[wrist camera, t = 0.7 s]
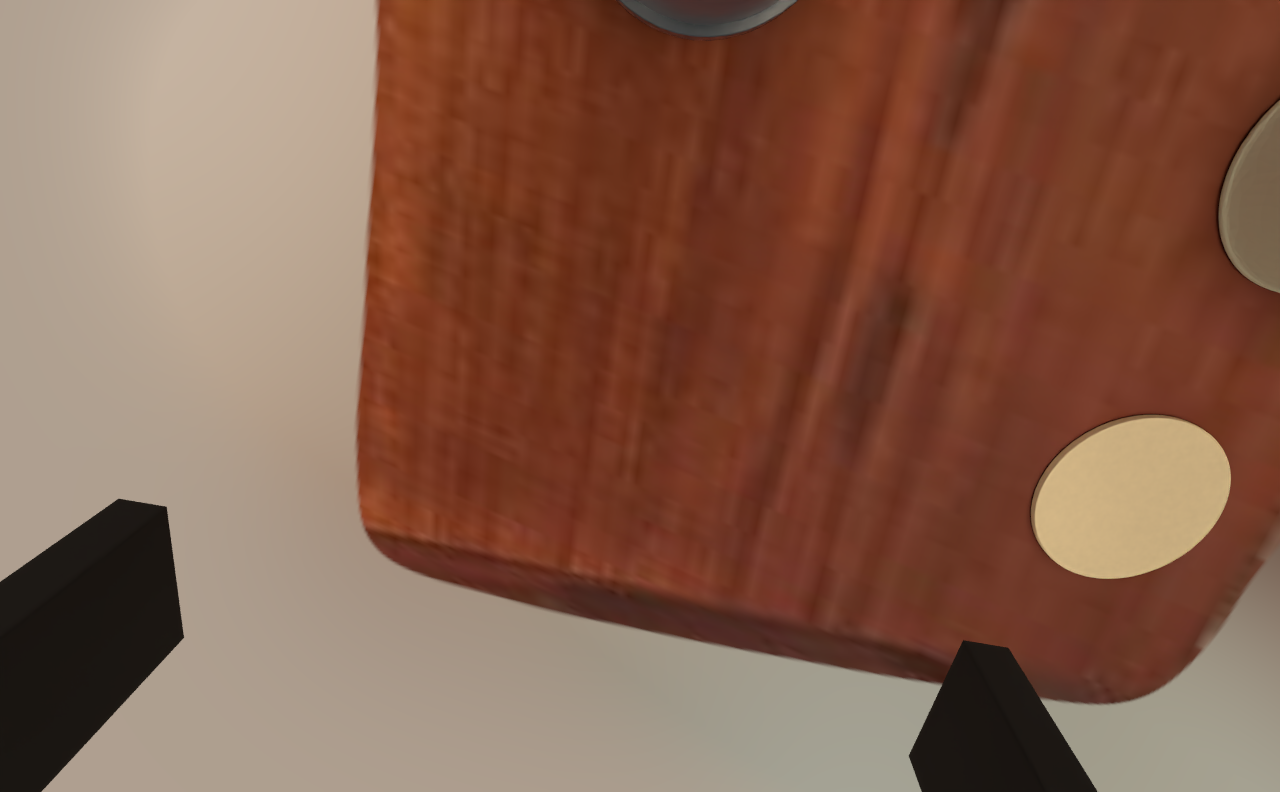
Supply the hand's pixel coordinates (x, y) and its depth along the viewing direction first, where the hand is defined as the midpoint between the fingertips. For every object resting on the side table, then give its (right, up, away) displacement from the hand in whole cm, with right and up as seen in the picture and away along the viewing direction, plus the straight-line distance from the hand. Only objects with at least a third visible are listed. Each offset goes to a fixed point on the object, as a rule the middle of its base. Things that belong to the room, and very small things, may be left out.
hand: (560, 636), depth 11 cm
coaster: (+25, -1, +22) cm, 33 cm away
